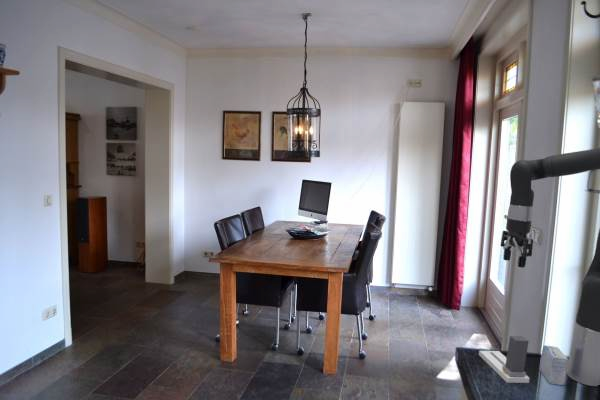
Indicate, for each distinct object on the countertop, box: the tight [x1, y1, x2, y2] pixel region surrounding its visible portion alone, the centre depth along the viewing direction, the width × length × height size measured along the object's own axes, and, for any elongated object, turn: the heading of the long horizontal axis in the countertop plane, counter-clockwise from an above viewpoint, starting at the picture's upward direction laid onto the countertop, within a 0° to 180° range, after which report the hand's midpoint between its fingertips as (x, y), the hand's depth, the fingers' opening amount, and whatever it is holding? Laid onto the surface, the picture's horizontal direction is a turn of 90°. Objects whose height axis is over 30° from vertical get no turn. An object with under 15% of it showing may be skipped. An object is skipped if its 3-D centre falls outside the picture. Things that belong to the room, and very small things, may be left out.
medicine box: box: [539, 345, 569, 386], centre depth 128 cm, size 8×4×9 cm, turn 168°
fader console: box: [478, 350, 530, 384], centre depth 132 cm, size 7×16×2 cm, turn 6°
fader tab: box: [502, 335, 530, 376], centre depth 125 cm, size 5×4×11 cm
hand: (513, 263), depth 146 cm, fingers open, 8 cm apart
